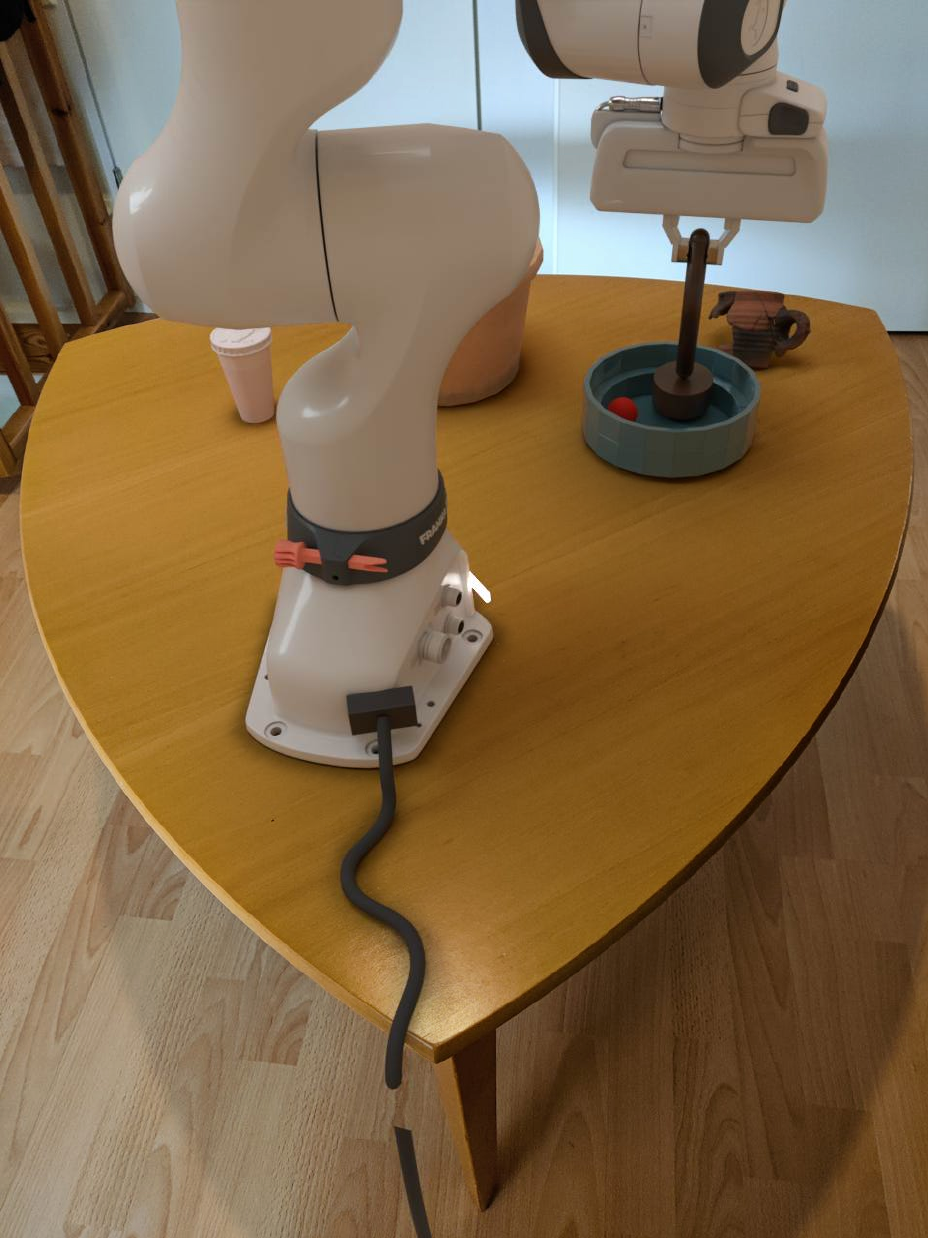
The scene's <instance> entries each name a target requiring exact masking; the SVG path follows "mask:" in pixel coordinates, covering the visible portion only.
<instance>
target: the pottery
mask: <svg viewBox="0 0 928 1238" xmlns="http://www.w3.org/2000/svg"><path fill="white" fill-rule="evenodd" d="M544 253H545V252H544V247H543V245H542V241H541V238H540V236H539V237H538V242H537V247H536V250H535V254H534V257H533V259H532V262H531V264H530V266H529V268H528V270H527V272H526V274H525V276H524V277H523V279H522V280H521V282H520V283H519V285H518V286H517V287H516V288H515V290H514V291H513V292H512V293H511V294H510V295H509V296H508V297H506V298H505V299H504V300H502V301H501V302H499V303H498V304H497V305H496V306H494V307H493V308H492V309H491V310H489V311H488V312H487V313H486V314H485V315H484V316H483V317H482V318H481V319H480V320H479V321H478V322H477V323H476V324H475V325H474V326H473V327H472V328H471V330H470V331H469V332H468V333H467V334H466V336H465V337H464V339H463V340H462V341H461V343H460V344H459V346H458V347H457V349H456V351H455V352H454V354H453V356H452V357H451V360H450V362H449V364H448V366H447V368H446V370H445V373H444V375H443V378H442V381H441V385H440V389H439V394H438V401H437V407H455V406H461V405H467V404H473V403H477V402H480V401H482V400H485V399H487V398H490V397H492V396H494V395H497V394H498V393H500V392H501V391H502V390H503V389H505V388H506V387H507V386H508V385H510V384H512V382H514V380H515V377H516V376H517V373H518V371H519V369H520V360H521V359H520V358H521V353H522V346H523V339H524V332H525V324H526V318H527V310H528V304H529V297H530V292H531V283H532V281H533V280H534V279H535V278H536V276H537V275H538V272H539V270H540V268H541V267H542V264H543V262H544Z"/></svg>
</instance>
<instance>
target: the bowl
mask: <svg viewBox="0 0 928 1238" xmlns="http://www.w3.org/2000/svg"><path fill="white" fill-rule="evenodd" d="M677 351H678V341H670V340H669V341H668V340H667V341H666V340H664V341H651V342H639V343H636V344H632V345H626V346H623V347H620V348H616V349H615V350H613V351H611V352H609V353H607V354H604V355H602V356H600V357H599V358H598V359H597V360H596V361H595V362H593V363H592V364H591V366H589V367H588V368H587V370H586V373H585V377H584V380H583V383H582V405H581V430H582V431H581V432H582V434H583V437H584V441H585V443H586V444H587V445H588V446H589V447H590V448H591V450H592V451H593V452H594V453H595V454H596V455H597V456H598V457H599V458H601V459H603V460H604V461H607V463H610V464H611V465H613V466H615V467H617V468H620V469H623V470H626V471H630V472H633V473H635V474H639V475H643V476H652V477H660V478H671V479H675V478H686V477H687V478H689V477H700V476H703V475H707V474H710V473H713V472H717V471H721V470H724V469H726V468H728V467H729V466H731V465H732V464H734V463H735V462H737V461H739V460H740V459H742V458H743V457H744V456H745V454H746V453H747V451H748V450H749V448H750V447H751V446H752V444H753V440H754V435H755V429H756V423H757V419H758V415H759V414H758V413H759V408H760V402H761V395H762V394H761V392H762V383H761V382H760V380H759V378H758V376H757V374H756V372H755V370H753V369H752V367H748V366H747V365H746V364H745V363H743V362H742V361H741V360H740V359H738V358H736V357H734V356H732V355H729V354H727V353H725V352H723V351H720V350H718V349H717V348H715V347H710V346H706V345H703V344H698V343H697V346H696V355H695V363H699V364H701V365H703V366H705V367H706V368H708V369H709V370H710V371H711V373H712V375H713V378H714V380H713V387H712V394H711V401H710V406H709V408H708V410H707V411H706V412H705V413H704V414H702V415H700V416H698V417H695V418H691V419H673V418H669V417H666V416H664V415H662V414H660V413H659V412H657V411H656V410H655V408H654V407H653V405H652V391H653V380H654V374H655V372H656V370H657V369H658V368H659V367H661V366H662V365H664V364H666V363H669V362H674V361H676V360H677ZM621 397H624V398H628V399H630V400H632V401H633V402H634V403H635V405H636V406H637V409H638V416H637V419H636V421H635V422H633V421H629V420H626V419H623V418H621V417H619V416H618V415H616V414H614V413H612V412H610V411H608V410H607V408H608V406H609V404H610V403H611V402H612V401H613V400H615V399H617V398H621Z"/></svg>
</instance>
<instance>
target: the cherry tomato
mask: <svg viewBox="0 0 928 1238" xmlns="http://www.w3.org/2000/svg"><path fill="white" fill-rule="evenodd" d="M607 410H608V411H610V412H612V413H614V414H616V415H618V416H619V417H621V418H623V419H626V420H629V421H633V422H635V421H636V419H637V416H638V409H637V406H636V405H635V403H634V402H633V401H632V400H630V399H628V398H624V397H621V398H617V399H615V400H613V401H612V402H611V403H610V404H609V406H608V408H607Z"/></svg>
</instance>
